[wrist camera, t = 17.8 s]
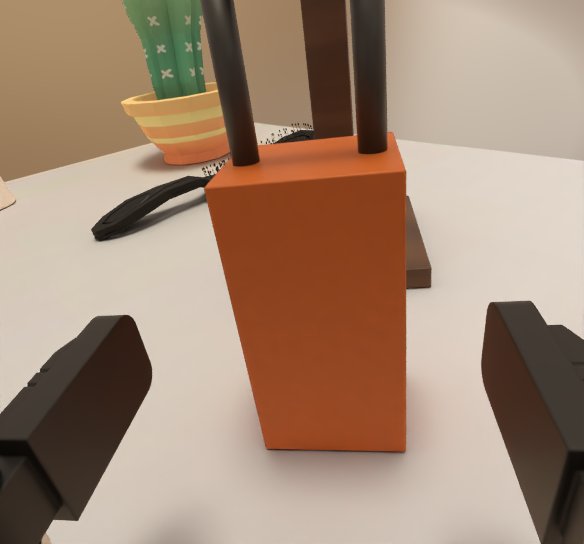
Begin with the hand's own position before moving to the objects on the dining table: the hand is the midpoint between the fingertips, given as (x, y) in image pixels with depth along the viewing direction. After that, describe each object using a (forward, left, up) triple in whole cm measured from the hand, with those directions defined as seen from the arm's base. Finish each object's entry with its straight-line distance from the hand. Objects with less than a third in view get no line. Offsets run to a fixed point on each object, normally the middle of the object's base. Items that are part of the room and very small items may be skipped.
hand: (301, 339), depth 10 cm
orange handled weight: (+4, +1, -7) cm, 8 cm away
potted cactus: (+39, +35, -7) cm, 53 cm away
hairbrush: (+26, +22, -7) cm, 35 cm away
